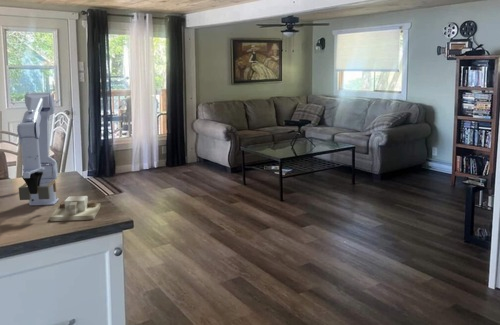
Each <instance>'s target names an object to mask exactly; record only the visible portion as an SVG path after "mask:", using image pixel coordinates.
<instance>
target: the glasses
mask: <svg viewBox="0 0 500 325" xmlns="http://www.w3.org/2000/svg"><path fill="white" fill-rule="evenodd" d="M56 182H57V181H56V180H53V181H52V182H50V183H49V184H48V185H47V186H38V189H37V194H38V196H39V200H40V199H50V190H49V188H50V187H51V186H52V185H53V191H54V192H55V193H56V192H57V185H56V184H57V183H56ZM18 197H19V201H29V200H30V199H31V194H30V192H29V189H28V186H27V184H26V182H25V183H23V184H22V185H21V186H19V187H18Z"/></svg>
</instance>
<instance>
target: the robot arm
mask: <svg viewBox="0 0 500 325" xmlns="http://www.w3.org/2000/svg"><path fill="white" fill-rule="evenodd" d="M24 104H25V107H26V109H27V110H26V111H25V112H24V114H23V117H22V120H21V122H20V123H18V124H17V127H16V128H17V129H16V130H17V136H18V141H19V145H20V147H21V160H22V176H21V179H23V181H24V182H25V183H26V184H27V186H26V187H28V189H29V192H30V194H31V199H30V200H28V201H29V204H28V205H29V206H49V205H51V206H52V205H56V203H57V202H58V201H59V199H60V198H59V197H56V192H54V191H53V185H52V186H51V187H50V188H49V190H50V199H40V200H39V196H38V194H37V189H38V186H47V185H48V184H49V183H50V182H52V181H53V180H55V181H56V180H57V179H58V177H59V176H58V175H59V169H58V162H57V161H56V159H55V158H53V157H52V156H50V124H49V122H50V116H51V115H54V113H55V112H54V111H55V99H54V94H53V93H52V91H49V92H48V91H47V92H42V91H41V92H40V91H39V92H29V91H27V92H25V94H24Z"/></svg>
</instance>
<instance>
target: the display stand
mask: <svg viewBox="0 0 500 325" xmlns="http://www.w3.org/2000/svg"><path fill="white" fill-rule="evenodd" d="M100 209H101V203H100V202H99V203H98V199H93V200H89V198H88V195H77V196H74V195H73V196H72V195H71V196H68V197H67V198H66V199H65V200H64V201H63V200H62V201H61V202H60V203H59V206H58V207H57V208H56V209H55V210H54V212H53V213H52V214H51V215H50V216H49V221H50V222H59V221H60V222H61V221H85V220H87V221H89V220H90V221H91V220H95V218H96V216H97V214H98V213H99V211H100Z"/></svg>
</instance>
